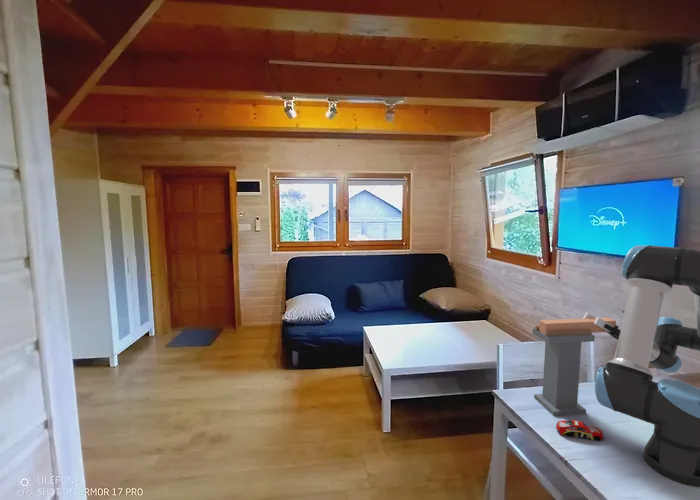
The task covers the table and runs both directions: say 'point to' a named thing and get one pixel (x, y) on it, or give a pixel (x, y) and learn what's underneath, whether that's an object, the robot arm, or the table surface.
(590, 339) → the stand
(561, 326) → the bar
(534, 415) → the table surface
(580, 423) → the race car
